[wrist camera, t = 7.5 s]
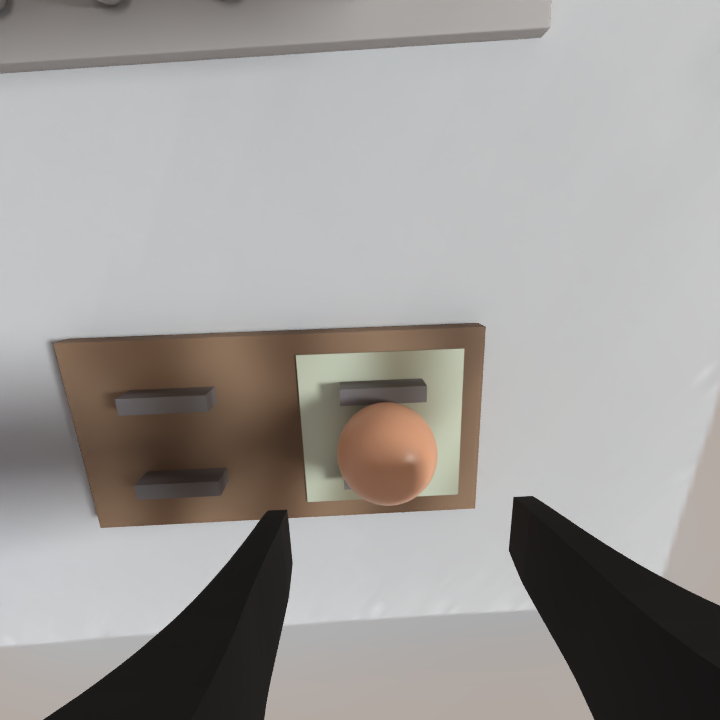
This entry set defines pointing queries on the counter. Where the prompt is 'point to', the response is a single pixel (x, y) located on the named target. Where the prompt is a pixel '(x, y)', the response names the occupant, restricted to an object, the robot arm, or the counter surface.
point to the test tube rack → (244, 28)
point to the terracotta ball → (387, 453)
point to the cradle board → (263, 418)
